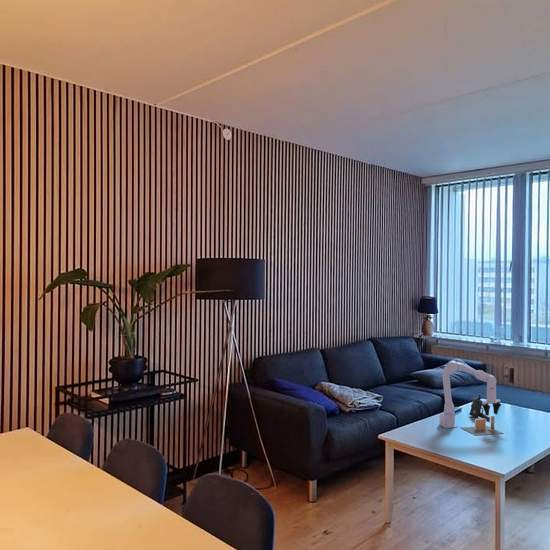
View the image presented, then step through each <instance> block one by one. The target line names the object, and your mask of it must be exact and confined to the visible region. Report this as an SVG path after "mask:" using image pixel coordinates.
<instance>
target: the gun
mask: <svg viewBox="0 0 550 550" xmlns="http://www.w3.org/2000/svg"><path fill="white" fill-rule="evenodd" d="M482 401H483V400H481V394H479V395H478V396H477V397H473V398H472V403H471V404H470V410H469V413H468V415H469V416H471V417H473V418H474V419H479V418H480V419H483V418H484V419H486V422H489V421H491V416H487V415H485V413H484V412H485V411H484V408H483V406H482Z"/></svg>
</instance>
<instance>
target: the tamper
mask: <svg viewBox="0 0 550 550" xmlns="http://www.w3.org/2000/svg"><path fill="white" fill-rule="evenodd" d="M490 427H491V429H488V431H491V432H497V431H498V430H497V429H496V428H495V416H494V415H490Z"/></svg>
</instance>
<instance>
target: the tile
mask: <svg viewBox="0 0 550 550" xmlns="http://www.w3.org/2000/svg"><path fill="white" fill-rule="evenodd" d="M486 423H487V420H486V419H484V418H483V419H482V418H474V427H475V430H486V426H487V425H486Z"/></svg>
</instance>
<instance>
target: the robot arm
mask: <svg viewBox="0 0 550 550" xmlns="http://www.w3.org/2000/svg"><path fill="white" fill-rule="evenodd" d="M457 371H459V372H461V371H464V372H467V373H469V374H471V375H474V377H475V378H476V379H477V380H479V381H481V382H484V383H486V399H485V400H481V401H482V408H483V410H484V411H483V412H484V414H485V415H486V416H488V417H490V416H489V415H490V408H491V405H492V407H493V408H492V409H493V414H494V415H498V412H499V410H500V407H501V406H502V404H501V399H499V398H498V399H497V387H496V386H497V382H498V381H497V378H496V377H495V376H494V375H492V374H490V373H487V372H485V371H484V370H482V369H481V370H480V369H478V370H476V369H473V368H471V367H470V366H468V365H466V364H464V363H462V362H460V361H456V360H450V361H448V362H447V363H446V364H445V366H444V368H443V370H442V372H441V375H442V383H443V384H442V385H443V395H444V405H443V406H444V407H443V408H444V409H443V412H442V413H439V423H438V425H439V426H440V427H443V428H447V429H448V428H449V429H450V428H458V425H456V424H455V423H456V422H455V421H456V412H455V404H454V403H453V398H452V391H451V389H452V388H451V381H450V380H451V379H450V376H451V375H452V374H453V373H455V372H457Z"/></svg>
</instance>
